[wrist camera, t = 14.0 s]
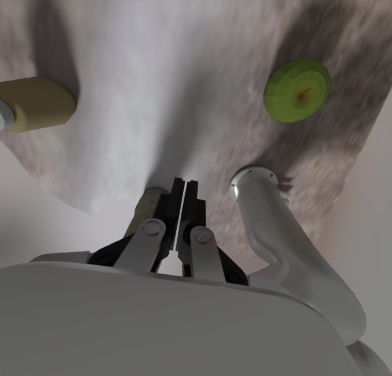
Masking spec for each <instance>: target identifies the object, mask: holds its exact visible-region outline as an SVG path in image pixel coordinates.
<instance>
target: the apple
mask: <svg viewBox="0 0 392 376" xmlns="http://www.w3.org/2000/svg"><path fill="white" fill-rule="evenodd" d="M330 85H331V77H330V75H329V72H328V69H327V68H326V67H325V66H324V65H322V64H321V63H320V62H319V61H318V60H316V59H314V58H305V57H303V58H300V59H297V60H293V61H290V62H288V63H286V64H285V65H283V66H281V67H280V68H279V69H278V70H276V71H275V72H274V73H273V74H272V76H271V77H270V79H269V80H268V82H267V83H266V87H265V90H264V93H263V98H264V105H265V107H266V110H267V112H268V113H269V114H270V116H271V117H273V118H274V119H275V120H277V121H278V122H284V123H292V122H296V121H300V120H303V119H305V118H307V117H309V116H310V115H312V114H314V113H315V112H316V111H317V110H318V109H319V108H320V107H321V106H322V105H323V104H324V102H325V100H326V98H327V96H328V94H329V92H330Z"/></svg>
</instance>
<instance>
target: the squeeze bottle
mask: <svg viewBox="0 0 392 376" xmlns="http://www.w3.org/2000/svg"><path fill="white" fill-rule="evenodd" d="M75 109H76V104H75V100H74V98H73V96H72V94H71V93H70V92H69V91H68V90H67V89H66V88H64V87H63V86H61V85H59V84H57V83H54V82H52V81H49V80H47V79H43V78H39V77H31V78H24V79H18V80H11V81H5V82H0V130H4V129H7V130H9V131H13V132H18V133H19V132H24V131H29V130H35V129H40V128H45V127H51V126H56V125H61V124H65V123H66V122H67V121H68V120H69V119H70V118H71V116H72V115H73V114H74V112H75Z"/></svg>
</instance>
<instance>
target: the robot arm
mask: <svg viewBox="0 0 392 376" xmlns="http://www.w3.org/2000/svg"><path fill="white" fill-rule="evenodd" d="M182 180H183V179H182V178H176V177H175V180H174V184H173V187H172V191H171V194H166V193H161V195H160V198H159V201H158V203H157V206H156V209H155V212H154V214H153V217H152V219H148V220H145V221H144V222H142V224H141V225H140V226H139V228H138V229H137V231H136V232H135V233H133V234H131V235H129V236H127V237H125V238H123V239H121V240H119V241H116V242H114V243H112V244H110V245H108V246H106V247H104V248H101V249H99V250H98V251H96V252H95V253H90V251H83V252H67V253H51V254H44V255H40V256H38V257H36V258H34V259H33V260H31V261H30V262H28V263H22V264H16V265H12V266H7V267H3V268H0V376H392V373H391V371H390V370H389V369H388V367H387V366H386V365H385V363H384V362H383V361H382V360H381V359H380V358H379V357H378V355H377V354H376V353H375V352H374V351H373V350H372V349H371V348H369V347H368V346H367V345H366V344H364V343H363V342H361V341H360V340H359V339H360V338H361V337H362V336H363V334H364V332H365V329H366V316H365V313H364V310H363V308H362V306H361V304H360V302H359V301H358V299H357V298H356V296H355V294H354V293H353V292H352V291H351V289H350V288H349V287H348V285H347V284H346V283H345V282H344V280H343V279H342V278H341V277H340V276H339V275H338V274H337V273H336V271H335V270H334V269H333V268H332V267H331V266H330V265H329V263H328V262H327V261H326V260H325V259H324V258H323V256H322V255H321V254H320V253H319V251H318V250H317V249H316V248H315V246H314V245H313V244H312V242H311V241H310V239H309V238H308V237H307V235H306V234H305V232H304V231H303V229H302V228H301V226H300V225H299V223H298V222H297V220H296V219H295V217H294V215H293V214H292V212H291V211H290V209H289V208H288V206H287V205H288V204H289V200H288V199H284V198H282V197H281V196H284V197H288V195H289V193H288V192H286V191H280V189H279V188H278V179H277V177H276V175H275V174H274V173H273V172H272V171H271V170H270V169H268V168H266V167H262V166H252V167H248V168H245V169H243V170H241V171H239V172H238V173H237V174H236V175H235V176H234V177H233V178H232V179H231V181H230V184H229V194H230V197H231V198H232V200H233V201H234V202H235V203H237V204H238V205H239V209H240V212H241V216H242V220H243V223H244V227H245V231H246V234H247V238H248V242H249V245H250V247H251V249H252V250H253V251H254V253H255V254H256V255H257V256H259V257H260V258H261V259H263V260H264V261H266V262H267V263H269V264H270V265H269V266H268V267H266V268H263V269H261V270H259V271H256V272H254V273H251V274H248V275H246V274H245V273H244V272H243V270H242V269H241V268H240V267H238V265H236V263H234V262H233V261H232V260H231V259H230V258H229V257H228V256H227V255H226V254H225V253H224V252H223V251H222V250H221V249H220V248H219V247H218V246H217V244H216V240H215V236H214V233H213V232H212V231H211V230H210V229H209V228H207V227H206V202H205V200H200V199H197V191H198V181H193V180H191V181H190V182H187V187H186V192H185V197H184V202H183V208H182V213H181V220H180V226H179V232H178V238H177V244H176V251H179V252H178V258H179V259H180V260H181V261H182V274H183V277H182V276H181V277H180V276H174V275H167V274H160V273H158V270H159V268H160V265H161V262H162V260H163V259H164V258H166V257H167V256H168V255H169V250H173V246H174V241H175V236H176V230H177V225H178V219H179V214H180V208H181V202H182V196H183V191H184V185H185V181H182Z"/></svg>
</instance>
